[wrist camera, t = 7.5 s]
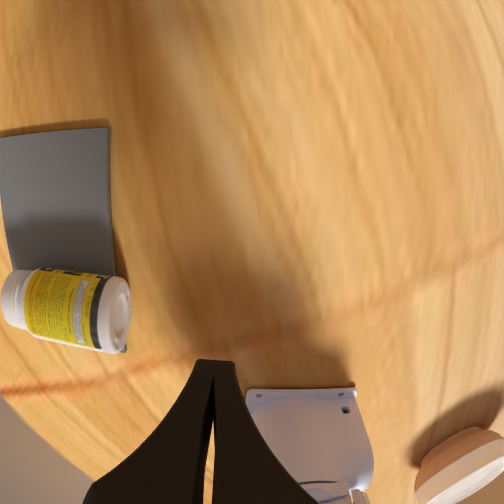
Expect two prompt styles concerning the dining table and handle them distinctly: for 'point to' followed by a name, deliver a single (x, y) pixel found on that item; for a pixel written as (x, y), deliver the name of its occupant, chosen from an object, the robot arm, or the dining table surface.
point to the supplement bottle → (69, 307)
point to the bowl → (460, 466)
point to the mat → (58, 200)
